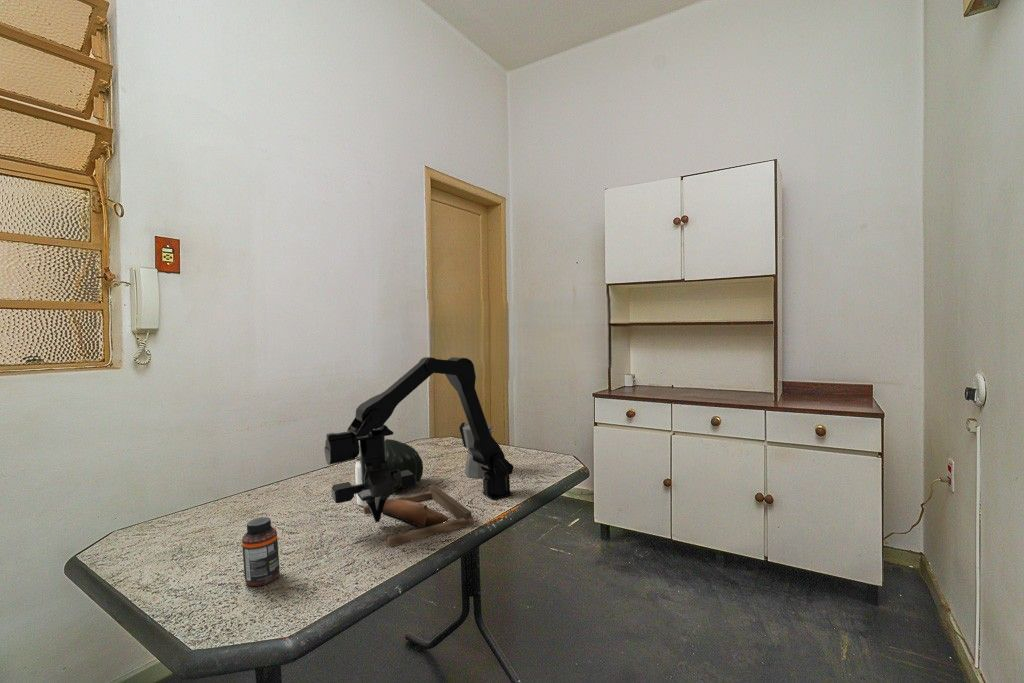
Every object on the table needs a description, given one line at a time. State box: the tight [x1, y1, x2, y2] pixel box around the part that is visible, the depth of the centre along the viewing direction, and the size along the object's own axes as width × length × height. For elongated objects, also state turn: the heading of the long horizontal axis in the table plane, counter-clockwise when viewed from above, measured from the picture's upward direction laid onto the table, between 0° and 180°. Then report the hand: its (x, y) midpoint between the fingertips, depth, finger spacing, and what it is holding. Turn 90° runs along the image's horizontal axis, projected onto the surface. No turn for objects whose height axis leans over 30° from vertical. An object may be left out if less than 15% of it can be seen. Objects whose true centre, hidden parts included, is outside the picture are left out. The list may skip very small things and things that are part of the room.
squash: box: [385, 438, 424, 492], centre depth 141 cm, size 14×15×15 cm
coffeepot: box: [458, 421, 493, 479], centre depth 151 cm, size 15×9×18 cm, turn 44°
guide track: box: [362, 484, 475, 548], centre depth 117 cm, size 20×24×3 cm
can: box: [354, 457, 376, 507], centre depth 129 cm, size 6×6×12 cm
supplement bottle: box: [241, 516, 281, 587], centre depth 90 cm, size 6×6×11 cm
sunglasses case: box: [382, 498, 450, 529], centre depth 117 cm, size 18×7×7 cm
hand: (377, 521), depth 112 cm, fingers closed
